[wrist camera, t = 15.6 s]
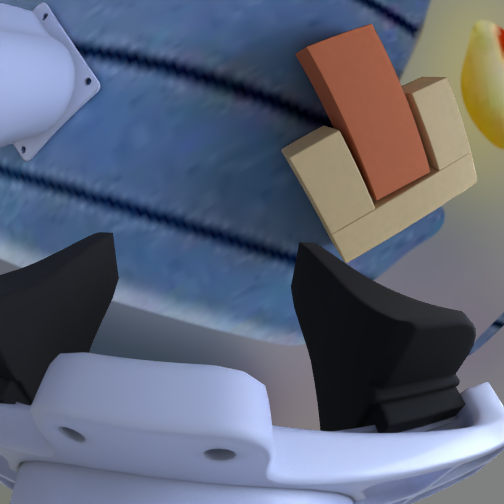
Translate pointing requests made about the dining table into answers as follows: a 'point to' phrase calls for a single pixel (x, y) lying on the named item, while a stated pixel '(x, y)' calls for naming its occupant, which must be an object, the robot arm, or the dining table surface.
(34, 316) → the robot arm
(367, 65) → the reddish-brown rectangular block
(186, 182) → the dining table surface
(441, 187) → the u-shaped block
